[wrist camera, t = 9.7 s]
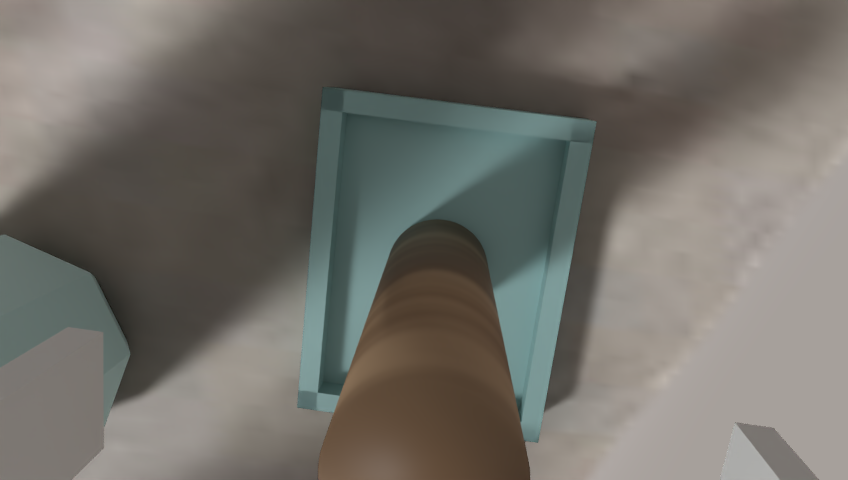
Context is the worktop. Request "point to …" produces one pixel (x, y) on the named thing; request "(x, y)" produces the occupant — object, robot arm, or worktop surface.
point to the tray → (446, 200)
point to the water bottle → (55, 308)
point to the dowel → (429, 372)
